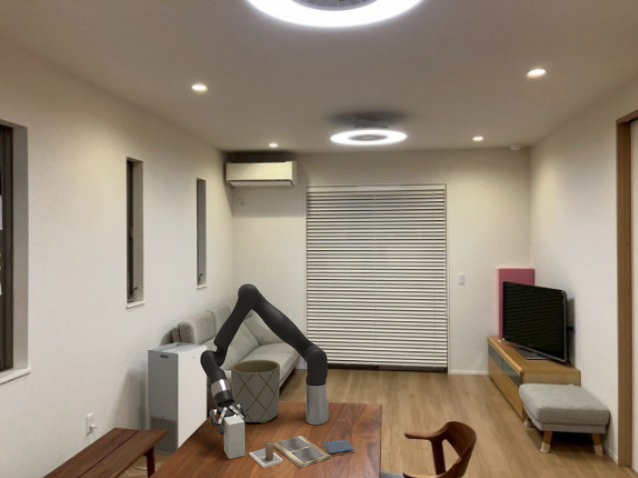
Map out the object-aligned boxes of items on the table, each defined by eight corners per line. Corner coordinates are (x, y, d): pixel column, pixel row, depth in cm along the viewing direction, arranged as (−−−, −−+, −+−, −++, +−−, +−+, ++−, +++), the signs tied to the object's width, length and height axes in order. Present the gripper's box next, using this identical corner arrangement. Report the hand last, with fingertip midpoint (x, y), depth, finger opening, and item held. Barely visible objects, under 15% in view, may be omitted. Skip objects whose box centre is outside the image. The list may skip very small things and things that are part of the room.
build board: (301, 438, 191) (301, 435, 191) (329, 458, 173) (329, 454, 173) (273, 446, 183) (273, 443, 183) (300, 468, 166) (300, 464, 166)
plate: (268, 449, 181) (267, 431, 180) (282, 462, 170) (282, 443, 170) (249, 455, 176) (249, 436, 176) (263, 468, 166) (263, 448, 166)
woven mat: (346, 442, 187) (345, 437, 187) (355, 454, 177) (355, 449, 177) (321, 446, 184) (321, 441, 184) (329, 458, 174) (329, 453, 174)
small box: (245, 455, 176) (244, 421, 176) (229, 459, 173) (228, 424, 173) (239, 447, 183) (239, 414, 183) (223, 450, 180) (223, 417, 180)
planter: (222, 423, 207) (221, 371, 207) (244, 405, 229) (244, 358, 229) (269, 428, 201) (268, 374, 201) (287, 409, 223) (287, 361, 222)
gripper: (207, 392, 182) (218, 431, 172) (241, 386, 190) (253, 423, 180) (203, 402, 186) (213, 440, 177) (236, 395, 194) (247, 431, 185)
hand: (233, 431), depth 179 cm, fingers open, 8 cm apart
